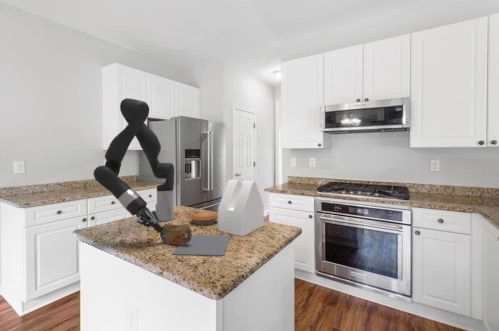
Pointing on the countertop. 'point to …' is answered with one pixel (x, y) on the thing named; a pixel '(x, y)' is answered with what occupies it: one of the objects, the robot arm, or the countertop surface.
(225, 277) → the countertop surface
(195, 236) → the mat
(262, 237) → the countertop surface
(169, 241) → the tin
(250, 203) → the milk carton
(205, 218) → the pie
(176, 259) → the countertop surface
